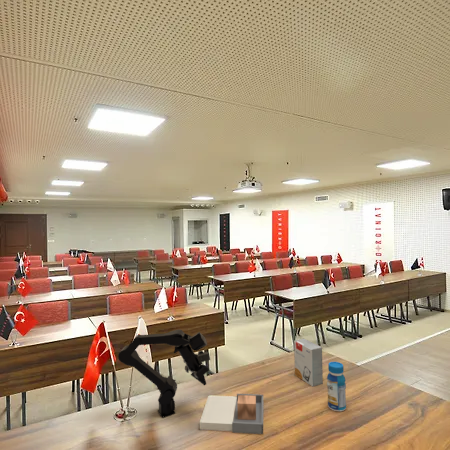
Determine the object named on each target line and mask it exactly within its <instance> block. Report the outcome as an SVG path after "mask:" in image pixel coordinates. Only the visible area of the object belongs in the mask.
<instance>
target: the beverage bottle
mask: <svg viewBox="0 0 450 450" xmlns="http://www.w3.org/2000/svg"><path fill="white" fill-rule="evenodd" d="M327 368H328V374H327V377H326V379H327V381H326V386H327V406H328V408H329V409H330V410H332V411H335V412H343V411H345V410H346V409H347V402H346V401H347V398H346V388H347V384H346V378H345V377H346V376H345V375H344V372H345V371H344V370H345V369H344V364H343V363H342V362H339V361H330V362H328V367H327Z"/></svg>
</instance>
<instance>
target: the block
mask: <svg viewBox="0 0 450 450" xmlns="http://www.w3.org/2000/svg"><path fill="white" fill-rule="evenodd" d="M237 407H238V419H244V420H256V396H250V395H238V403H237Z"/></svg>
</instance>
